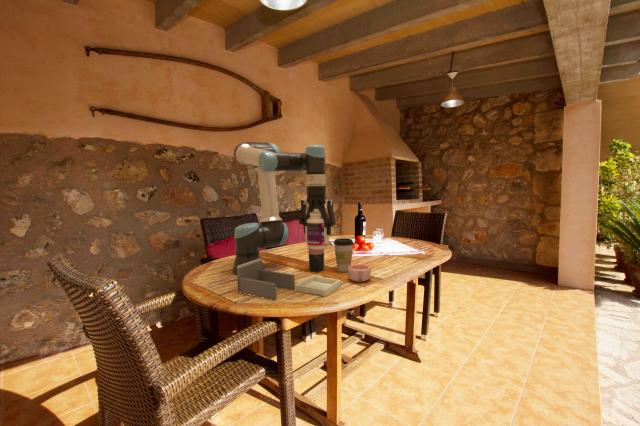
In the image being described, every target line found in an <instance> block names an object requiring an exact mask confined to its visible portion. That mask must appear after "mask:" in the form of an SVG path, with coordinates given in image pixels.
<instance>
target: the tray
mask: <svg viewBox="0 0 640 426" xmlns="http://www.w3.org/2000/svg"><path fill="white" fill-rule="evenodd" d="M340 287H342V280H341V279H337V278H336V279H335V278H328V277H322V276H316V275H312V276H310V277H308V278H306V279H304V280H301V282H299V283H296V284H295V289H294V290H295V292H298V293H303V294H309V295H311V296H312V295H314V296H319V297H324V298H326V297H328V296H329V295H330V294H332V293H333V292H335V291H336V290H337V289H339V288H340Z"/></svg>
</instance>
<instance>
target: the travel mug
mask: <svg viewBox="0 0 640 426" xmlns="http://www.w3.org/2000/svg"><path fill="white" fill-rule="evenodd" d="M307 248H308V247H307ZM308 269H309V271H310V272H312V273H320V272H321V273H322V272H323V271H324V269H325V248H324V249H310V248H308Z"/></svg>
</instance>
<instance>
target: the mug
mask: <svg viewBox="0 0 640 426" xmlns="http://www.w3.org/2000/svg"><path fill="white" fill-rule="evenodd" d="M371 274H372V273H371V267H370V266H369V265H368V264H362V263H355V264H351V265H350V266H349V267H348V271H347V275H348V277H349V279H350V280H352V281H353V282H358V283H359V282H366V281H368V280H369V279H370V276H371Z"/></svg>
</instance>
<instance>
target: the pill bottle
mask: <svg viewBox="0 0 640 426" xmlns="http://www.w3.org/2000/svg"><path fill="white" fill-rule="evenodd" d="M325 226H326V225H325V223H324V220H323V218H322V215H321V213H320V211H313V212H310V218H309V219H308V220H307V242H306V243H307V248H310V249H324V250H325V249H326V248H328V244H324V227H325Z"/></svg>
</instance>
